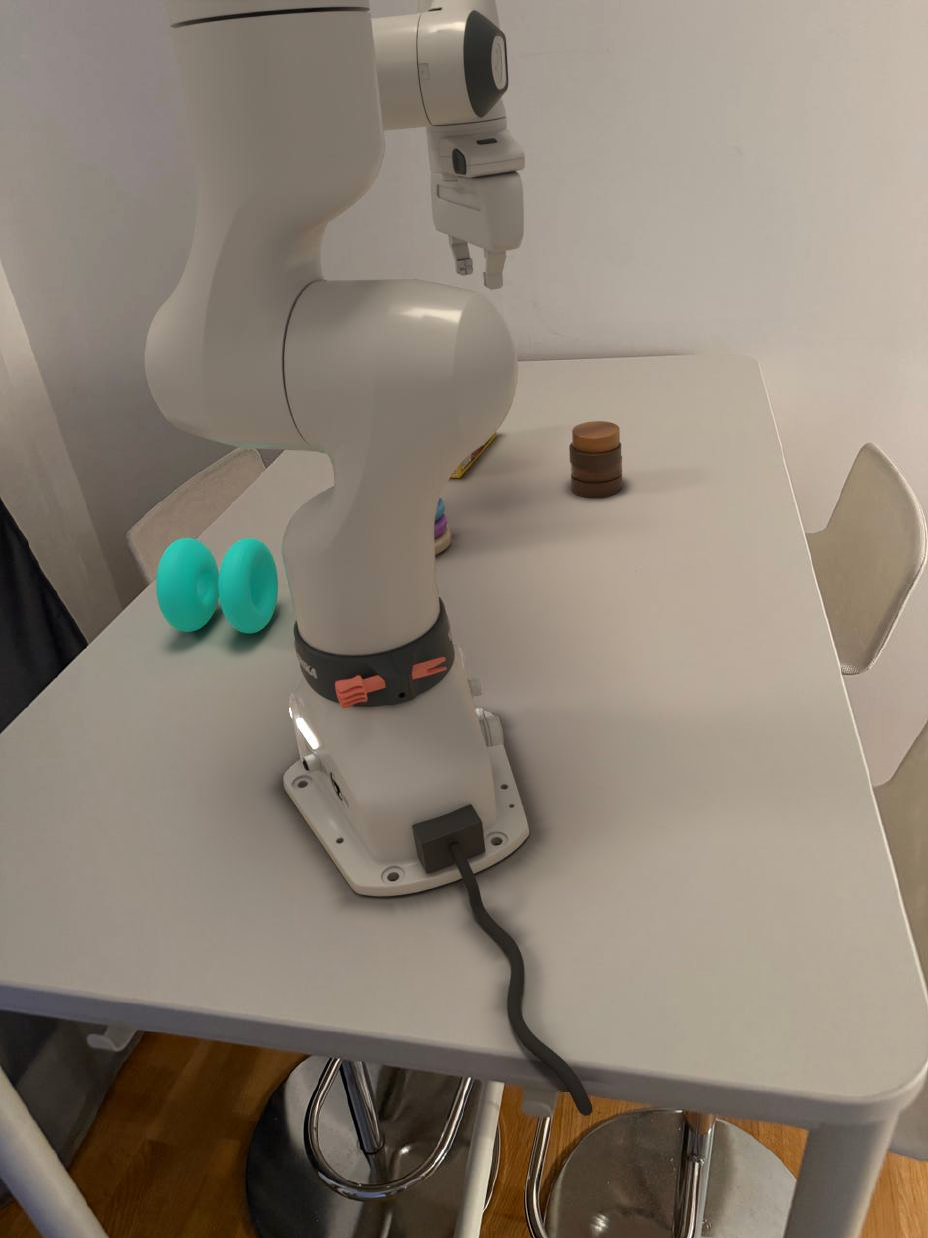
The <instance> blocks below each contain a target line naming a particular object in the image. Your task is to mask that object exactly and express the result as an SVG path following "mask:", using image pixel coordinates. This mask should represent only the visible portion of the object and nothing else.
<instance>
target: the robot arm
mask: <svg viewBox="0 0 928 1238" xmlns="http://www.w3.org/2000/svg"><path fill="white" fill-rule="evenodd" d="M165 5H166V11H167V16H168V21H169V22H168V23H169V27H170V28H171V30H170V32H171V37H172V38H171V39H172V42H173V47H174V53H175V57H176V62H177V68H178V73H179V78H180V83H181V89H182V94H183V101H184V106H185V111H186V117H187V118H186V119H187V123H188V129H189V135H190V141H191V150H192V154H193V155H192V156H193V162H194V169H195V182H196V212H195V214H196V215H195V223H194V232H193V237H192V243H191V248H190V252H189V255H188V258H187V259H188V260H187V262H186V265H185V268H184V271H183V273H182V276H181V278H180V279H179V281H178V284H177V285H176V287H175V288H174V290H173V292H172V293H171V295H170V296H169V297H168V298H167V300H166V301H165V302H164V303H163V304H162V305H161V306H160V308H159V309H158V310H157V311H156V313H155V315H154V317H153V319H152V321H151V323H150V326H149V328H148V332H147V336H146V340H145V345H144V355H143V356H144V357H143V362H144V363H143V364H144V372H145V378H146V381H147V384H148V388H149V391H150V394H151V396H152V398H153V400H154V402H155V405H157V407H158V409H159V411H160V413H161V414H162V415H163V417H164V418H165V419H166V420H167V421H168V422H169V424H171V425H172V426H173V427H175V428H176V429H177V430H179V431H181V432H184V433H188V434H190V435H193V436H197V437H200V438H203V439H207V440H209V441H212V442H216V443H219V444H220V443H221V444H224V445H227V446H231V447H235V448H240V449H241V448H242V449H259V450H275V451H276V450H278V451H279V450H280V451H296V452H297V451H299V452H316V453H317V452H318V453H321V454H326V455H327V457H328V458H329V460H330V463H331V465H332V471H333V483H334V484H333V486H331V487H328V488H327V489H325V490H324V491H321V492H319V493H318V494H316V495H314V496H313V497H312V498H309V500H307V501H305V502H304V503H303V504H302V505H301V506H300V507H299V508H297V510H295V512H294V513H293V515H292V516H291V517H290V519H289V521H288V522H287V525H286V528H285V530H284V533H283V536H282V541H281V547H280V548H281V549H280V551H281V552H280V553H281V558H282V563H283V567H284V571H285V575H286V576H285V577H286V581H287V585H288V590H289V594H290V599H291V602H292V606H293V607H292V608H293V610H294V616H295V621H294V625H293V636H294V641H293V642H294V644H293V645H294V651H295V655H296V658H297V660H298V662H299V667H300V671H301V673H302V675H301V677H300V679H299V681H298V683H297V685H296V686H295V687H294V689H293V690H292V692H291V694H290V695H289V697H288V703H289V714H290V717H291V720H292V724H293V729H294V733H295V738H296V742H297V743H296V744H297V748H298V753H299V759H297V760H296V761H295V762H294V763H293V764H292V765H291V766H290V767H288V768H287V770H286V771H285V772H284V774H283V776H282V780H283V789H284V790H285V792H286V794H287V795H288V797H289V798H290V800H291V801H292V803H293V804H294V806H295V807H296V808H297V810H298V811H299V813H300V814H301V816H302V817H303V819H304V820H305V821H306V823H307V825H308V826H309V828H310V829H311V831H312V833H314V835H315V836H316V838H317V839H318V841H319V842H320V844H321V845H322V847H323V849H324V850H325V851H326V853H327V855H329V857H330V858H331V860H332V862H333V863H334V865H335V866H336V868H337V870H338V871H339V872H340V874H341V875H342V877H343V878H344V879H345V881H346V882H347V884H348V885H349V887H350V888H351V889H352V890H353V891H354V893H356V894H358V895H362V896H368V897H369V896H370V897H394V896H403V895H409V894H414V893H419V892H424V891H428V890H431V889H435V888H438V887H441V886H445V885H448V884H451V883H454V882H457V881H459V880H461V879H462V881H463V883H464V886H465V889H466V891H467V896H468V899H469V900H468V901H469V904H470V907H471V910H472V912H473V914H474V916H475V918H476V920H477V921H478V923H479V924H480V925H481V926H482V928H483V929H484V930H485V931H486V933H488V935H489V936H491V937H492V938H493V939H494V940H495V941H497V942H498V944H500V945H501V946H502V948H503V949H504V950H505V952H506V954H507V955H508V958H509V962H510V979H509V984H508V989H507V990H508V991H507V997H506V1000H507V1001H506V1007H507V1008H506V1009H507V1015H508V1019H509V1022H510V1025H511V1027H512V1029H513V1031H514V1033H515V1035H516V1037H517V1038H518V1040H519V1041H520V1042H521V1044H522V1045H523V1046H524V1047H525V1048H526V1049H527V1050H528V1052H530V1053H531V1054H532V1055H533V1056H534V1057H536V1058H537V1059H538V1060H539V1061H541V1062H542V1063H543V1064H544V1065H545V1066H547V1067H548V1068H549V1069H550V1070H551V1071H552V1072H553V1073H554V1074H555V1075H556V1076H557V1077H558V1078H559V1079H560V1080H561V1082H562V1083H563V1085H564V1087H566V1089H567V1091H568V1092H569V1095H570V1096H571V1098H572V1101H573V1103H574V1105H575V1107H576V1109H577V1111H578V1112H579V1113H580V1114H581V1115H582V1116H585V1117H586V1116H590V1115H592V1113H593V1111H594V1110H593V1104H592V1102H591V1100H590V1097H589V1095H588V1093H587V1091H586V1089H585V1087H584V1085H583V1083H582V1082H581V1080H580V1079H579V1077H578V1075H577V1074H576V1072H575V1071H574V1070H573V1068H572V1067H571V1066H570V1065H569V1064H568V1063H567V1062H566V1061H565V1060H564V1059H563V1058H562V1057H561V1056H560V1055H559V1054H558V1053H556V1052H555V1051H554V1050H553V1049H552V1048H550V1047H549V1045H546V1043H544V1042H543V1041H542V1040H540V1039H539V1038H538V1037H537V1036H536V1035H535V1034H534V1032H533V1031H532V1030H531V1029H530V1028H529V1027H528V1025H527V1024H526V1021H525V1019H524V1015H523V1013H522V1012H523V1011H522V992H523V987H524V980H525V963H524V958H523V954H522V952H521V950H520V948H519V945H518V944H517V942H516V941H515V939H514V938H513V937H512V936H511V935H510V934H509V933H508V932H507V931H506V930H505V929H504V928H503V927H502V926H500V925H499V924H498V923H497V922H496V921H495V920H494V919H493V918H492V917H491V915H490V914H489V912H488V911H487V909H486V908H485V905H484V903H483V900H482V899H483V898H482V895H481V890H480V886H479V884H478V881H477V878H476V876H475V874H476V873H479V872H481V871H484V870H487V869H488V868H490V867H492V866H493V865H496V864H497V863H499V862H501V861H503V860H504V859H505V858H507V857H508V856H509V855H511V854H512V853H514V852H515V851H516V850H517V849H518V848H519V847H521V845H522V844H523V843H524V842H525V841H526V840H527V838H529V835H530V828H529V827H530V826H529V822H528V819H527V815H526V813H525V809H524V805H523V802H522V799H521V796H520V793H519V790H518V786H517V783H516V780H515V776H514V774H513V771H512V767H511V765H510V761H509V758H508V754H507V752H506V749H505V745H504V732H503V727H502V723H501V720H500V717H499V716H497V715H494V714H493V712H490V711H488V710H484V709H483V707H477V708H476V706H475V705H476V704H475V702H474V699H473V698H474V697H478V696H481V695H483V689H482V683H481V680H480V678H473V679H469V678H468V677H467V673H466V670H465V660H464V651H463V650H464V649H463V648H461V647H459V646H458V645H456V644H454V642H453V638H452V636H453V633H452V627H451V623H450V620H449V616H448V614H447V611H446V606H445V604H444V603H445V602H444V601H443V599H442V598H441V597H440V596H439V595H440V594H439V587H438V577H437V567H436V565H437V564H436V555H435V543H434V524H435V515H436V510H437V506H438V502H439V499H440V498H441V496H442V494H443V492H444V490H445V486H446V485H447V484H448V482H449V480H450V479H451V478H450V477H451V475H452V474H453V473H454V471H455V470H456V469H457V467H458V466H459V465H460V464H461V463H462V462H463V461H464V460H465V459H466V458H467V457H468V456H469V455H470V454H471V453H473V452H474V451H475V450H477V449H478V448H480V447H481V446H482V445H484V444H485V443H486V442H487V441H488V440H489V439H490V438H491V437H492V436H493V435H494V434H495V432H496V433H497V431H498V430H499V429H500V428H501V426H502V425H503V423H504V422H505V420H506V417H507V416H508V414H509V412H510V410H511V407H512V406H513V402H514V399H515V396H516V391H517V386H518V380H519V379H518V378H519V362H518V361H519V358H518V353H517V348H516V343H515V340H514V336H513V333H512V332H511V329H510V325H508V323H507V321H506V318H505V317H504V315H503V313H501V311H500V309H499V308H498V307H497V305H496V304H495V303H494V302H493V301H492V299H490V298H489V296H487V295H486V294H484V293H483V292H478V291H475V290H470V289H466V288H462V287H458V286H454V285H449V284H444V283H440V282H433V281H428V280H425V279H424V280H423V279H418V278H400V279H399V278H398V279H397V278H395V279H392V278H390V279H344V280H343V279H342V280H341V279H340V280H339V279H337V280H336V279H335V280H333V279H332V280H327V279H325V278H324V276H323V270H322V244H323V239H324V236H325V232H326V229H327V226H328V225H329V223H330V222H332V221H333V220H335V219H336V218H338V217H339V216H341V215H343V213H345V212H346V211H347V210H348V209H350V208H351V207H352V206H354V205H355V204H356V203H358V201H360V200H361V199H362V198H363V197H364V196H365V195H366V194H367V193H368V191H370V189H371V187H372V186H373V185H374V183H375V181H376V179H377V177H378V176H379V173H380V170H381V168H382V166H383V161H384V158H385V152H386V138H385V131H397V130H407V129H408V130H409V129H418V128H425V134H426V142H427V144H426V145H427V152H428V162H429V170H430V201H431V215H432V221H433V225H434V228H435V230H436V231H437V232H439V233H442V234H445V235H447V236H448V244H449V248H450V251H451V253H452V256H453V259H454V266H455V272H456V274H457V275H460V276H462V277H464V276H465V277H466V276H470V275H472V274H473V273H474V262H473V261H474V260H473V258H472V257H471V254H470V249H469V244H470V245H472V246H475V247H478V248H480V249H483V258H484V259H485V271H482V277H483V286H484V287H485V288H487V289H489V290H492V291H494V290H499V289H501V288H503V286H504V277H503V271H504V268H505V263H506V260H507V252H508V251H513V250H517V249H519V248H520V247H521V245H522V242H523V238H524V233H525V231H524V230H525V215H524V214H525V208H524V186H523V181H522V177H521V175H520V174H519V171H523V170H524V169H525V167H526V157H525V156H526V155H525V150H524V148H523V147H522V146H521V145H520V143H518V141H516V140H515V138H514V137H513V135H512V133H511V131H510V130H509V129H508V123H507V121H508V120H507V110H506V107H505V104H504V101H503V96H504V94H506V92H507V91H508V90H509V89H508V88H509V68H508V67H509V66H508V65H509V63H508V47H507V37H506V34H505V33H504V32H503V31H502V30H501V27H500V19H499V14H498V8H497V3H496V0H417V13H410V14H401V15H394V16H384V17H383V16H382V17H375V18H374V17H373V18H372V13H371V12H369V11H370V10H371V4H370V0H165Z"/></svg>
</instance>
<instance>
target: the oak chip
mask: <svg viewBox="0 0 928 1238" xmlns="http://www.w3.org/2000/svg"><path fill="white" fill-rule="evenodd" d="M620 432H621V429H620V426H619V425H618V424H616V423H613V422H611V421H603V420H592V421H587V422H586V421H585V422H582V423H580V424H577V425H575V426H574V427H573V428H572V429H571V438H572V442H571V443H572V444H573V447H574V448H575V449H576V450H578V451H581V452H587V453H600V452H606V451H610V450H613V449H615V448H617V447H618V446H619V444H620V443H621V433H620Z"/></svg>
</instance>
